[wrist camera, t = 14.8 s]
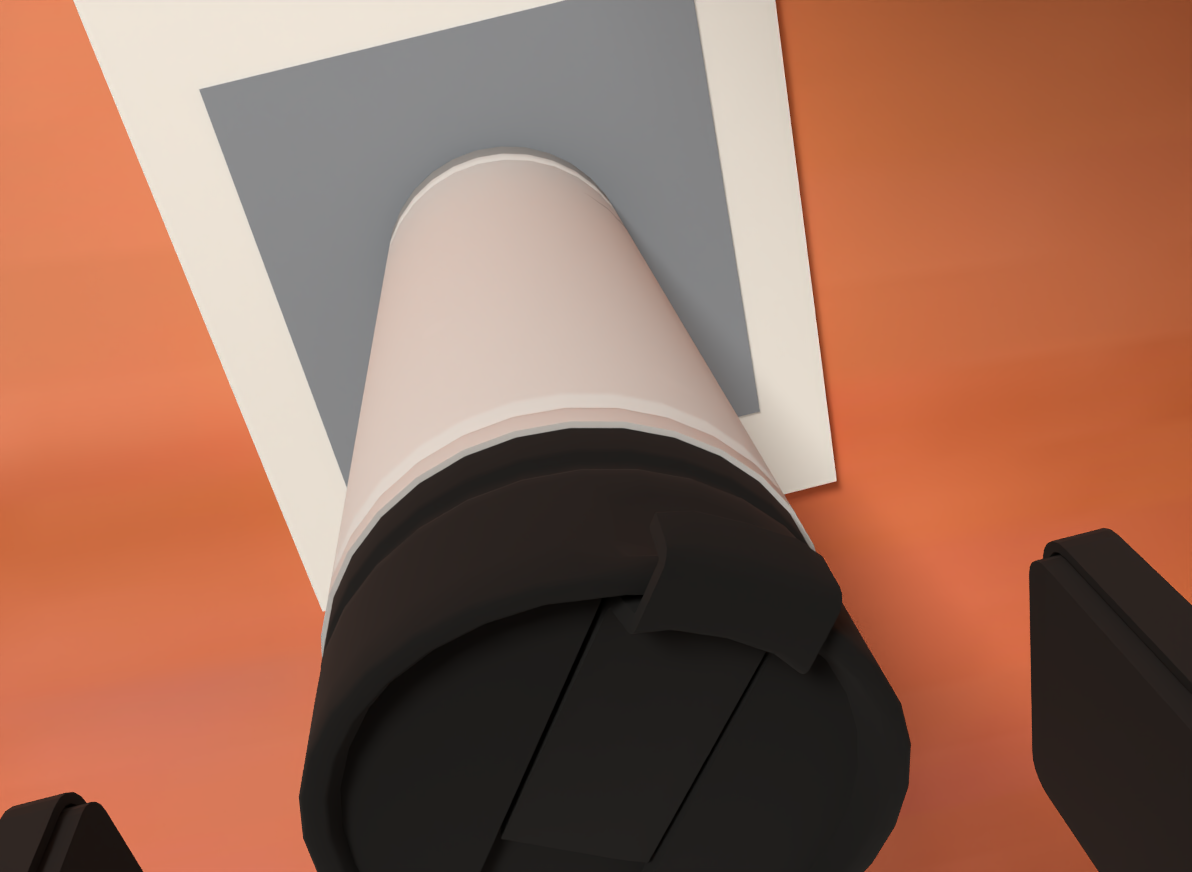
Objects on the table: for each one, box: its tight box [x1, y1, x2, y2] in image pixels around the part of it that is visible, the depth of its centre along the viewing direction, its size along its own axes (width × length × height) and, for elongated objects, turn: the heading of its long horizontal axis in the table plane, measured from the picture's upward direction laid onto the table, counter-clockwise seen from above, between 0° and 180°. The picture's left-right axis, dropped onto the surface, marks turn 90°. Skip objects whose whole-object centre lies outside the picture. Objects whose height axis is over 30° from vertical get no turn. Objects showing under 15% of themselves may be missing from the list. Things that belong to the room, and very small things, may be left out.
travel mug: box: [299, 146, 911, 872], centre depth 19 cm, size 6×7×20 cm
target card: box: [73, 0, 837, 611], centre depth 28 cm, size 18×16×1 cm
